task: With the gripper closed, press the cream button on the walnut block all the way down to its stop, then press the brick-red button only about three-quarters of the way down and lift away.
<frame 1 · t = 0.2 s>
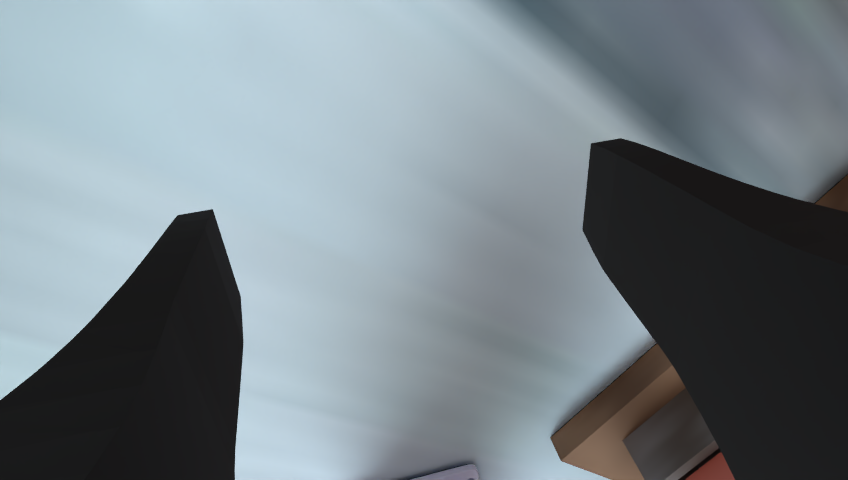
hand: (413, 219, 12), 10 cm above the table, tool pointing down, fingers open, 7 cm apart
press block: (757, 339, 34), on the table
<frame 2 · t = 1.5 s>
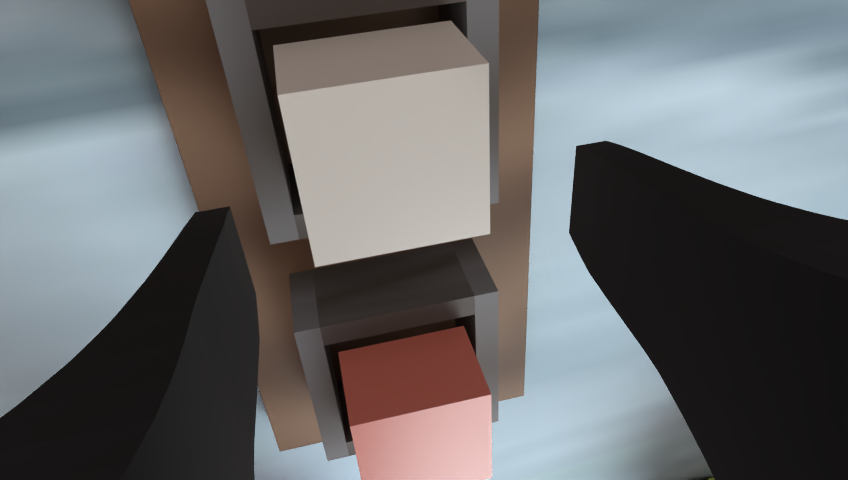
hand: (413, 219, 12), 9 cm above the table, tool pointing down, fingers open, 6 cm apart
red button: (416, 415, 21), point 6 cm above the table, slide at 0.0 cm
cream button: (384, 141, 15), point 6 cm above the table, slide at 0.0 cm
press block: (370, 193, 22), on the table
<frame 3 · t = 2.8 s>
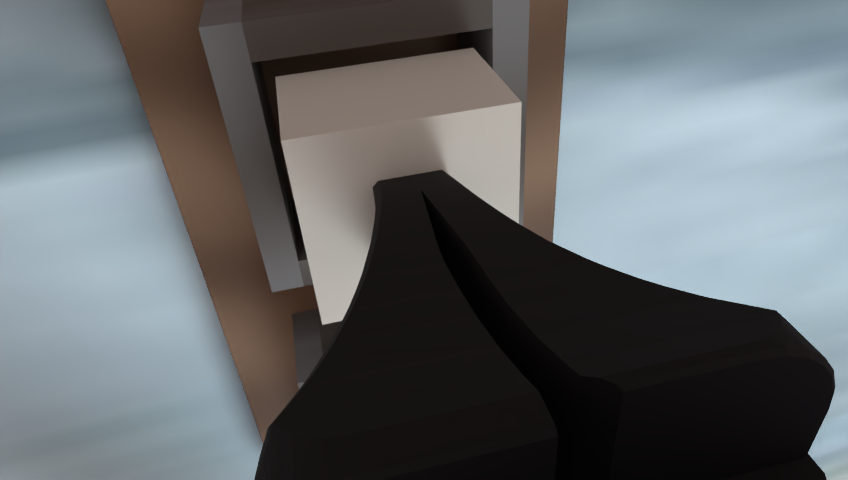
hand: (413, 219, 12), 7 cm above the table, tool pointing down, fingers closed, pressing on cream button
cream button: (399, 183, 13), point 6 cm above the table, slide at 0.1 cm, touching gripper
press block: (379, 226, 21), on the table
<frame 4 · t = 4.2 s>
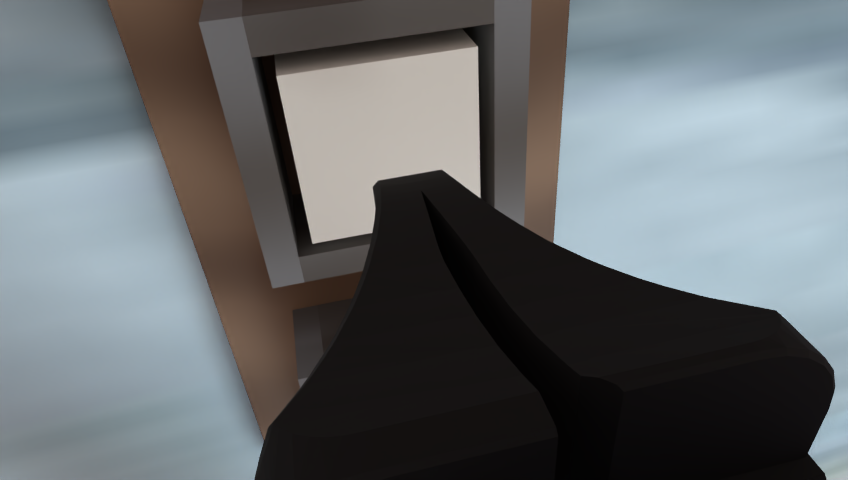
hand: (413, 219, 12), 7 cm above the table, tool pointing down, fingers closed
cream button: (378, 123, 15), point 3 cm above the table, slide at 2.9 cm
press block: (380, 222, 21), on the table
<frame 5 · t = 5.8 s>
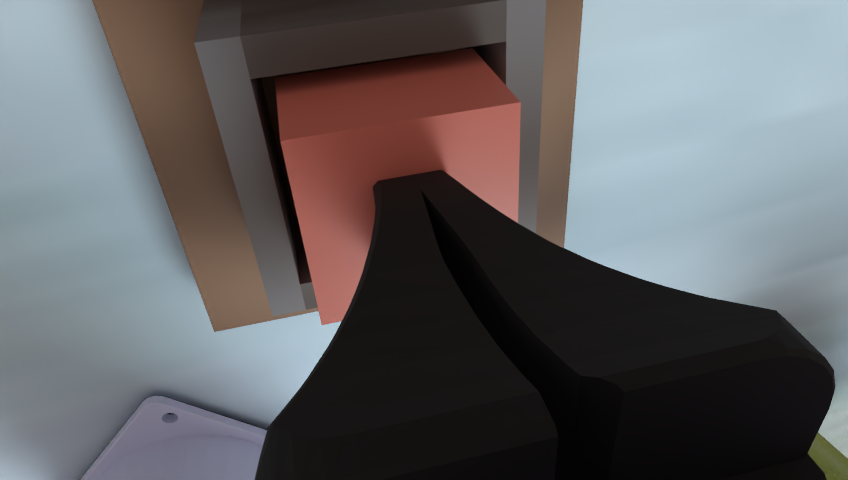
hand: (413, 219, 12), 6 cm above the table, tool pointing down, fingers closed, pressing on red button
red button: (398, 183, 13), point 5 cm above the table, slide at 1.0 cm, touching gripper
plant pot: (748, 446, 33), on the table
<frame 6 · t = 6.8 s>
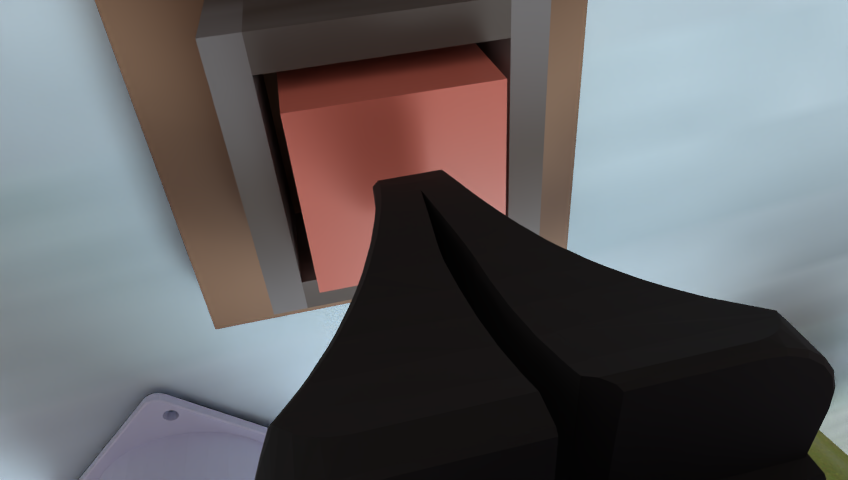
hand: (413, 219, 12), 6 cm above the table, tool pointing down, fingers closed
red button: (392, 159, 14), point 4 cm above the table, slide at 2.0 cm
plant pot: (750, 444, 33), on the table
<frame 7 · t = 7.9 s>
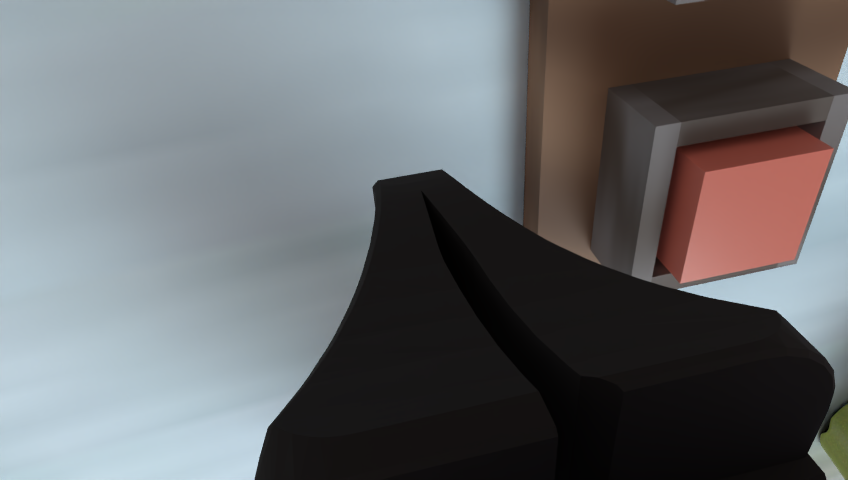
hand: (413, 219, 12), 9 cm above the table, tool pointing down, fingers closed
red button: (724, 195, 21), point 4 cm above the table, slide at 2.0 cm
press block: (685, 8, 21), on the table
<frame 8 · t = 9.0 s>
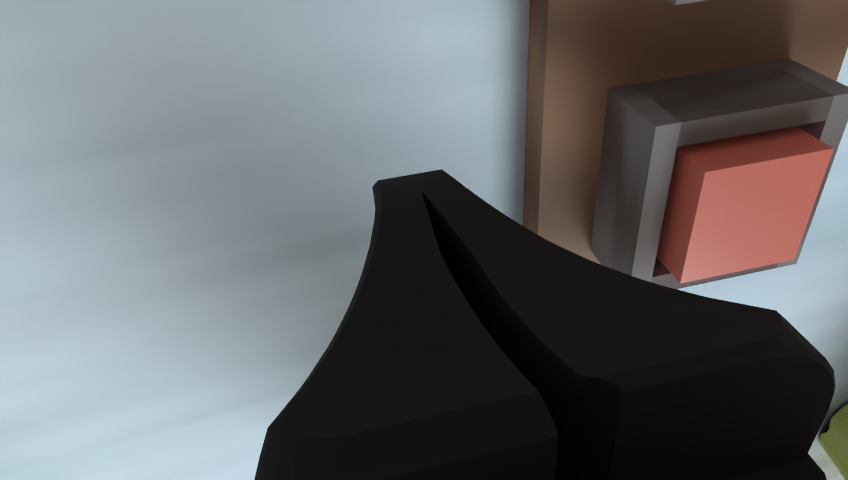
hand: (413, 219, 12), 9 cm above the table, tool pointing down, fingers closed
red button: (724, 195, 21), point 4 cm above the table, slide at 2.0 cm
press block: (685, 8, 21), on the table
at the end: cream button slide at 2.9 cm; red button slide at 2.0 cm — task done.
